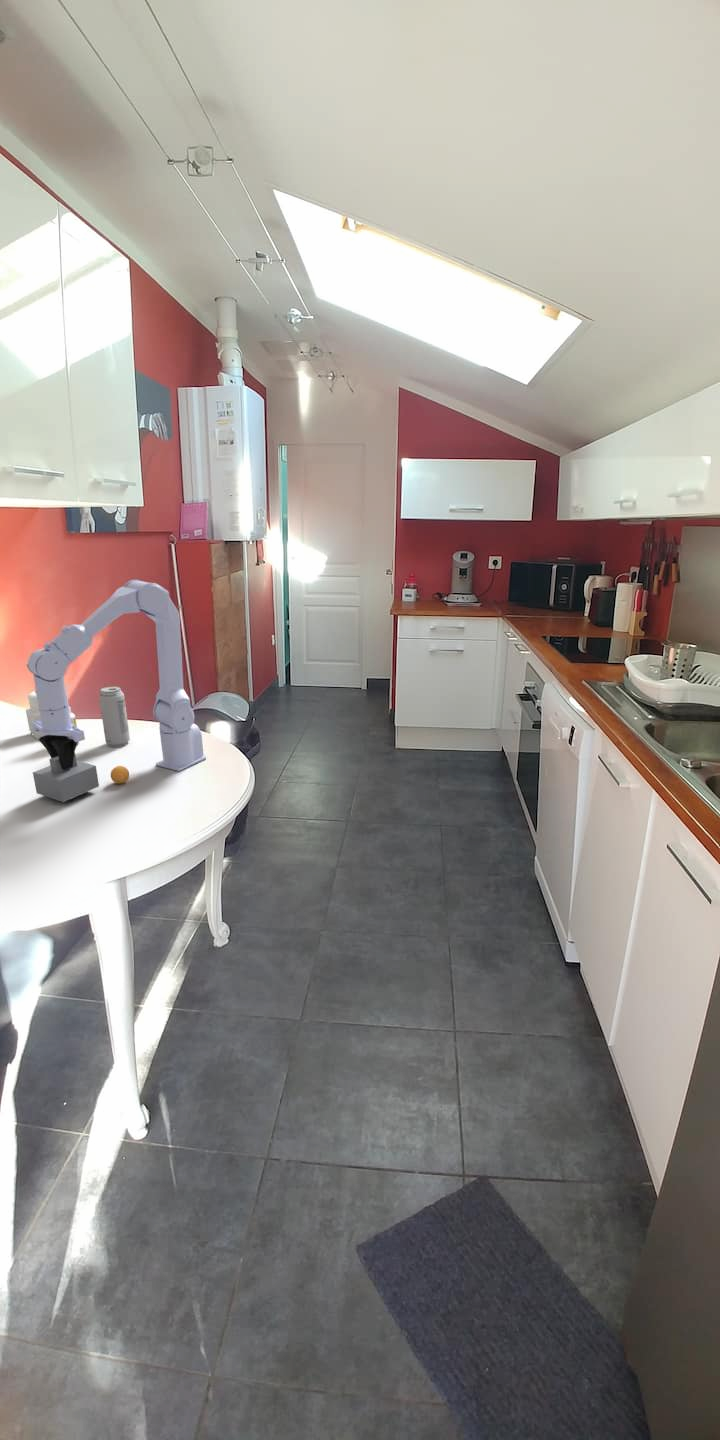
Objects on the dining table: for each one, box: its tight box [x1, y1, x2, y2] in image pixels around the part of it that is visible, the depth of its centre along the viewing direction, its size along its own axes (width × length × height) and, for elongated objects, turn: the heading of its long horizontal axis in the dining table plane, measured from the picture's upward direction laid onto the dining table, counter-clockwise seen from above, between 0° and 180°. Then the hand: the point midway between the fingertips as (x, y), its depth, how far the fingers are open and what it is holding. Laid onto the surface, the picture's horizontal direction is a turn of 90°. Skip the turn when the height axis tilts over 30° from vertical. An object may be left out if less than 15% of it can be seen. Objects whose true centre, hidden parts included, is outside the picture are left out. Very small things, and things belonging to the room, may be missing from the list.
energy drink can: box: [98, 685, 131, 748], centre depth 174 cm, size 6×6×15 cm
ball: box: [110, 765, 130, 785], centre depth 152 cm, size 4×4×4 cm
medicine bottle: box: [25, 690, 43, 740], centre depth 183 cm, size 7×7×12 cm
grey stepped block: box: [32, 752, 100, 803], centre depth 145 cm, size 9×9×8 cm
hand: (64, 767), depth 145 cm, fingers closed on grey stepped block
